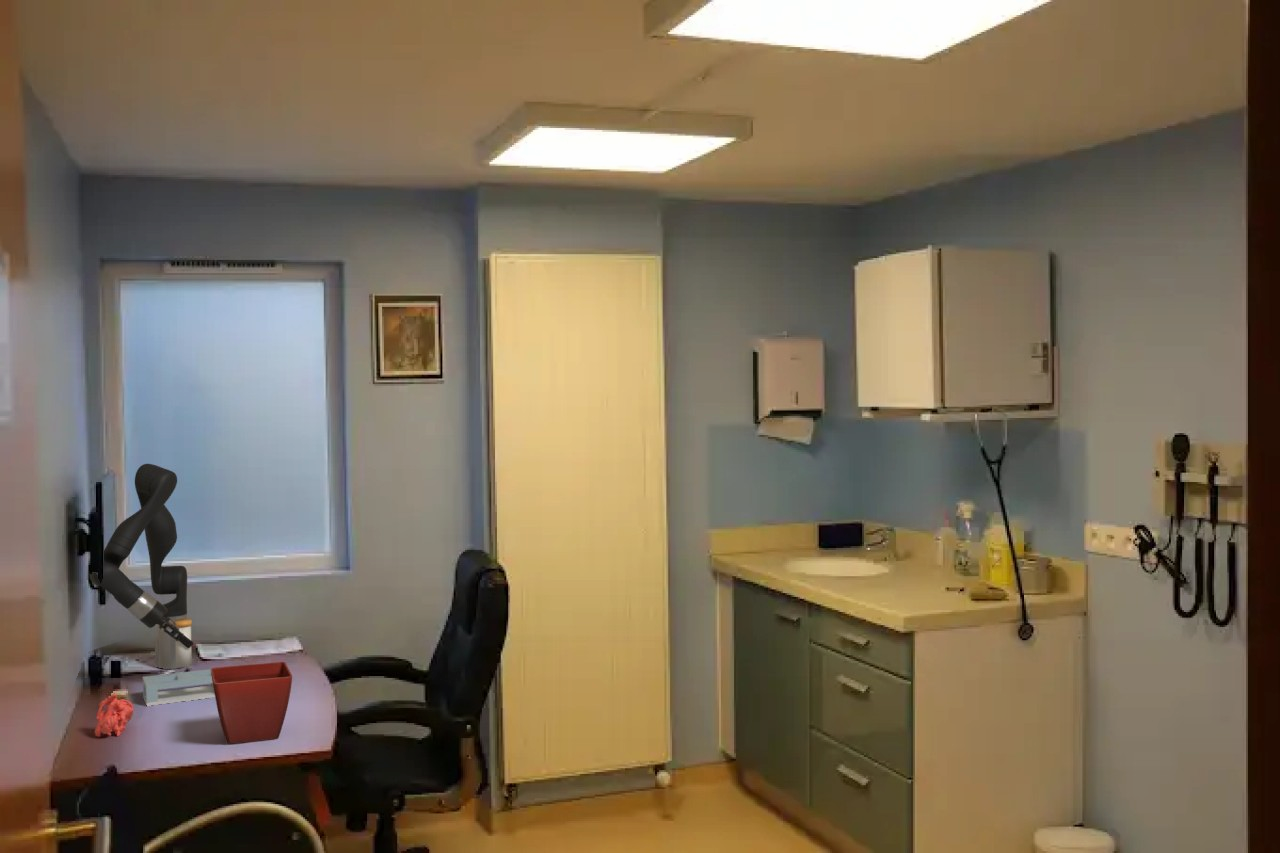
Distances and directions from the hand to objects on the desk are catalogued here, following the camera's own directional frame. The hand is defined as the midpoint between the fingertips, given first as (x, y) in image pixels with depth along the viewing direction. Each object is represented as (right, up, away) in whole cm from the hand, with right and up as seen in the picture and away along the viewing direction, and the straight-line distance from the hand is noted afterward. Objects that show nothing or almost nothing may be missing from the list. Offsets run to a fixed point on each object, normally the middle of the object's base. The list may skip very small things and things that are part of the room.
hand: (190, 643), depth 356 cm
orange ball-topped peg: (-2, -7, -1) cm, 7 cm away
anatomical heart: (0, -14, -51) cm, 53 cm away
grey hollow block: (+4, -13, -14) cm, 20 cm away
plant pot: (+37, -14, -54) cm, 67 cm away
